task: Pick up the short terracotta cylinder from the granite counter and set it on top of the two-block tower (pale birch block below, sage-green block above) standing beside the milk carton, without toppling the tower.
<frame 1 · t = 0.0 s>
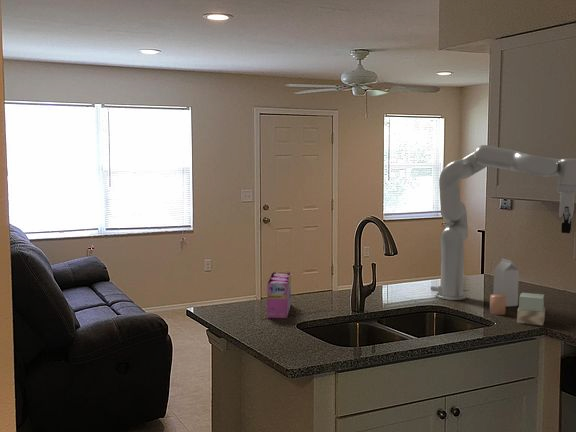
hand: (566, 231, 266), 31 cm above the worktop, tool pointing down, fingers open, 9 cm apart
gum box: (279, 311, 262), on the worktop
milk carton: (505, 305, 273), on the worktop
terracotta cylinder: (497, 313, 259), on the worktop
sage block: (531, 308, 246), point 5 cm above the worktop, touching birch block
birch block: (530, 321, 247), on the worktop, touching sage block
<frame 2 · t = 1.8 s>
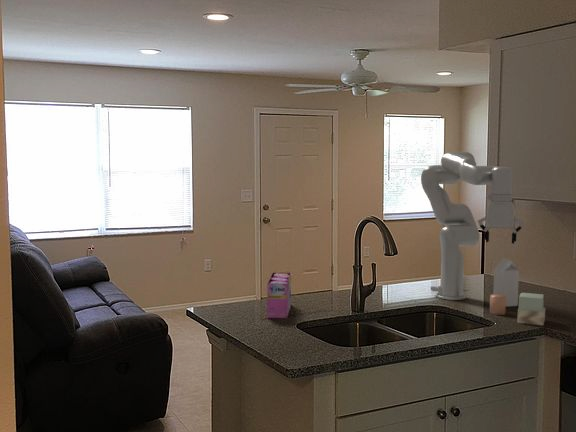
hand: (500, 242, 257), 28 cm above the worktop, tool pointing down, fingers open, 9 cm apart
nothing on the worktop moved.
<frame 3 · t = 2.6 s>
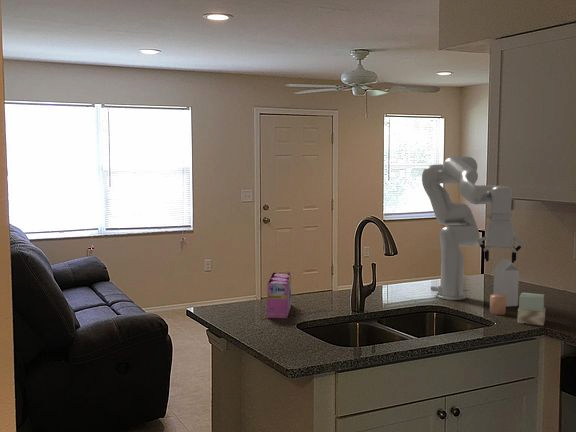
hand: (500, 261, 257), 20 cm above the worktop, tool pointing down, fingers open, 9 cm apart
nothing on the worktop moved.
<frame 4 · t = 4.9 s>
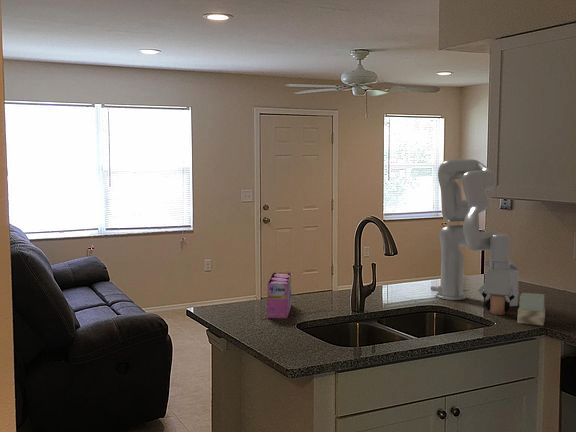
hand: (497, 310, 259), 1 cm above the worktop, tool pointing down, fingers closed on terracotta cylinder, 6 cm apart
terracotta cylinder: (497, 313, 259), on the worktop, touching gripper
everything else where it was.
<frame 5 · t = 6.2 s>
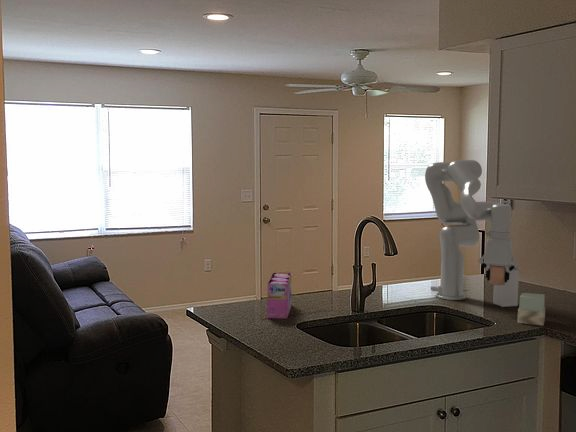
hand: (497, 280, 259), 13 cm above the worktop, tool pointing down, fingers closed on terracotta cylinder, 6 cm apart
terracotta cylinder: (497, 283, 259), point 12 cm above the worktop, touching gripper
everything else where it was.
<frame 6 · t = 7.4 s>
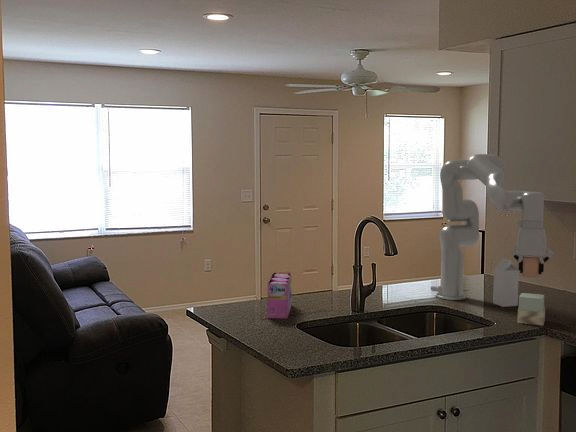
hand: (530, 272, 246), 18 cm above the worktop, tool pointing down, fingers closed on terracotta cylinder, 6 cm apart
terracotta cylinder: (530, 275, 246), point 17 cm above the worktop, touching gripper
everything else where it was.
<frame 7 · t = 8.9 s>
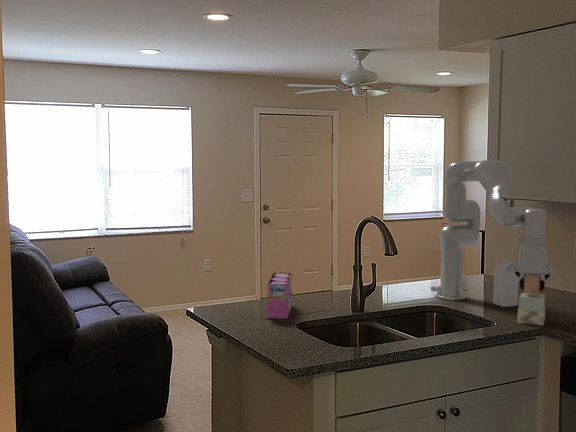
hand: (531, 289, 246), 12 cm above the worktop, tool pointing down, fingers closed on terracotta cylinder, 5 cm apart
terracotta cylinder: (531, 292, 246), point 11 cm above the worktop, touching gripper
everything else where it was.
when the fingers open (12 cm above the worktop, at t = 8.9 s): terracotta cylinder stays where it is, resting on sage block.
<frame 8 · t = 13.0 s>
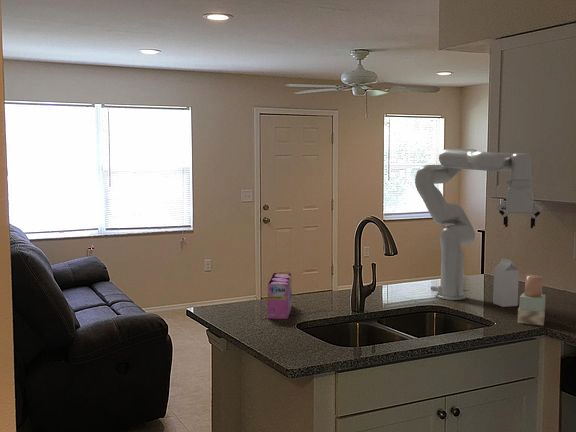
hand: (518, 227, 262), 33 cm above the worktop, tool pointing down, fingers open, 9 cm apart
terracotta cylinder: (532, 294, 246), point 10 cm above the worktop, tilted 5°, touching sage block
sage block: (532, 308, 246), point 5 cm above the worktop, touching birch block, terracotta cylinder
at the end: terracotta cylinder 0.3 cm off-centre on the sage block, point 6.0 cm above the sage block's base; sage block tilted 0°; birch block moved 0.3 cm from its start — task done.
